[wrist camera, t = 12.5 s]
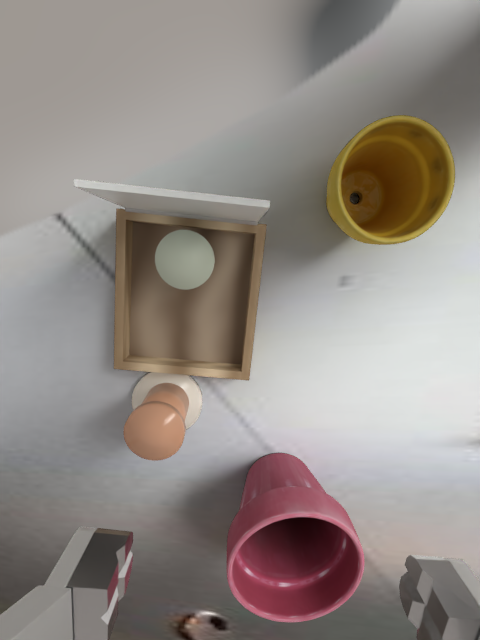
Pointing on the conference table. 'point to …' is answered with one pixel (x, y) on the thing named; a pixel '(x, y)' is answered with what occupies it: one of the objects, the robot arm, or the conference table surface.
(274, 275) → the conference table surface
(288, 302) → the conference table surface
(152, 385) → the cream disc
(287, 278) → the conference table surface
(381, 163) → the plant pot
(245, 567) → the plant pot
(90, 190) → the propped lid
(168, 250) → the sage pot
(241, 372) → the brown wooden tray
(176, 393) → the peach mushroom knob
